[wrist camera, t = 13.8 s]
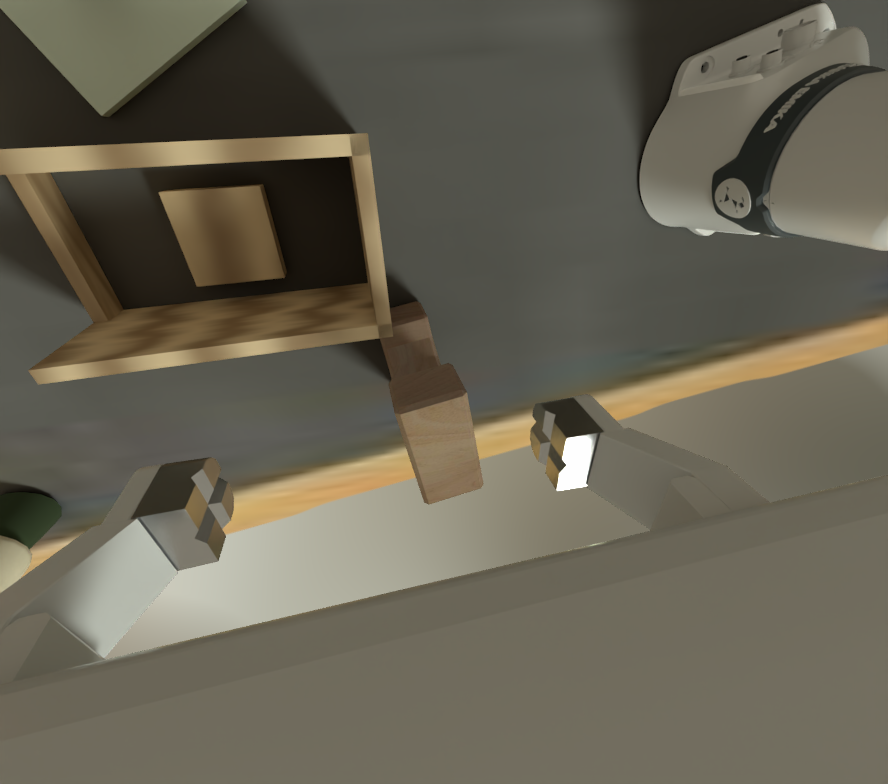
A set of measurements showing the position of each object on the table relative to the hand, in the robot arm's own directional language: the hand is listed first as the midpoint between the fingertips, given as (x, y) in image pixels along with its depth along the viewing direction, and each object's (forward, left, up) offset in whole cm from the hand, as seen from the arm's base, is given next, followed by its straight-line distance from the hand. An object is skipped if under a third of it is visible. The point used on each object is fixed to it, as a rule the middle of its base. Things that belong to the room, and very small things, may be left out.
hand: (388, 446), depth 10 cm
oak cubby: (+10, -5, -34) cm, 36 cm away
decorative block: (+3, +15, -35) cm, 38 cm away
